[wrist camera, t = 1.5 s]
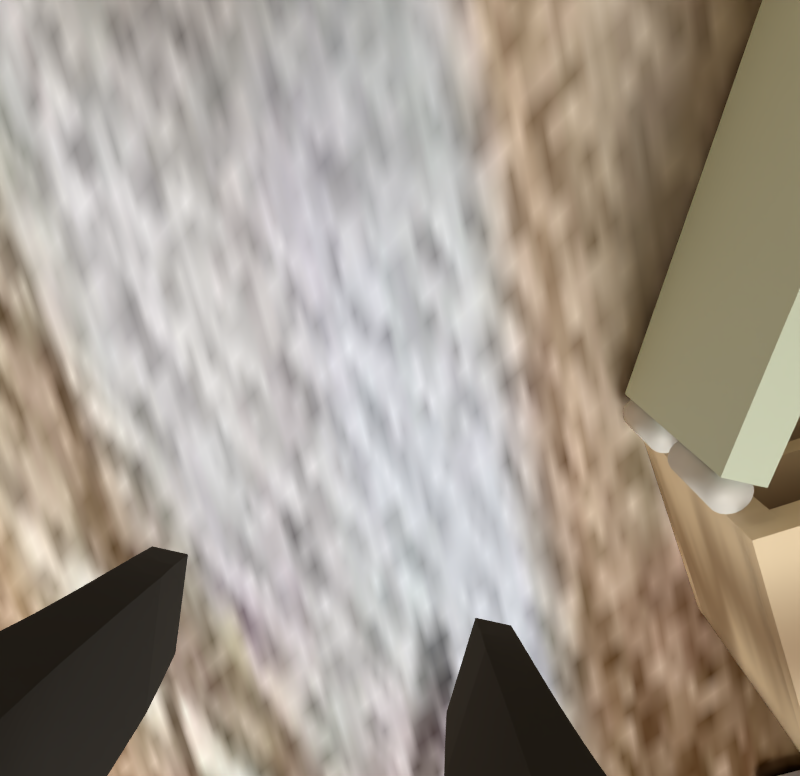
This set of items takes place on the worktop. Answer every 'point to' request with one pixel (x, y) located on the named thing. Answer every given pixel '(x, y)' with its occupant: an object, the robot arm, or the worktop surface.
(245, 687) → the worktop surface
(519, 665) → the robot arm
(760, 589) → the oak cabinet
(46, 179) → the worktop surface
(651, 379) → the cabinet door
